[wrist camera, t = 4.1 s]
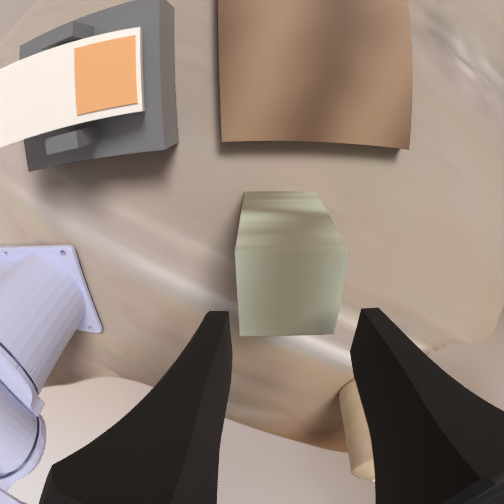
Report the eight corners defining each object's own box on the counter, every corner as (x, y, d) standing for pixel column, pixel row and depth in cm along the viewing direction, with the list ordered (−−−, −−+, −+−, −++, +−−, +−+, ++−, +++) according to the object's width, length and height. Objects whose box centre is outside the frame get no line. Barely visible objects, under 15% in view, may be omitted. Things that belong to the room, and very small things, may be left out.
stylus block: (246, 254, 18) (239, 335, 12) (244, 191, 16) (234, 252, 10) (311, 254, 18) (333, 333, 12) (315, 191, 16) (348, 251, 10)
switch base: (52, 161, 15) (7, 182, 11) (44, 47, 12) (-3, 45, 8) (178, 142, 15) (150, 158, 11) (174, 7, 11) (145, -19, 7)
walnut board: (224, 139, 15) (221, 141, 14) (220, -26, 10) (217, -33, 9) (401, 146, 15) (408, 149, 14) (398, -10, 10) (405, -14, 9)
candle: (326, 394, 25) (340, 488, 17) (372, 364, 23) (401, 463, 15) (358, 409, 27) (375, 490, 18) (401, 382, 25) (428, 466, 16)
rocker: (3, 146, 10) (-7, 150, 9) (-2, 74, 8) (-12, 74, 7) (144, 110, 12) (142, 110, 11) (142, 32, 10) (140, 26, 9)
